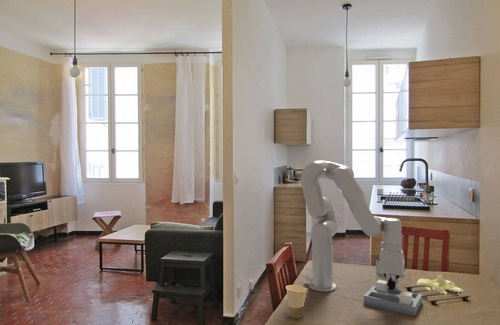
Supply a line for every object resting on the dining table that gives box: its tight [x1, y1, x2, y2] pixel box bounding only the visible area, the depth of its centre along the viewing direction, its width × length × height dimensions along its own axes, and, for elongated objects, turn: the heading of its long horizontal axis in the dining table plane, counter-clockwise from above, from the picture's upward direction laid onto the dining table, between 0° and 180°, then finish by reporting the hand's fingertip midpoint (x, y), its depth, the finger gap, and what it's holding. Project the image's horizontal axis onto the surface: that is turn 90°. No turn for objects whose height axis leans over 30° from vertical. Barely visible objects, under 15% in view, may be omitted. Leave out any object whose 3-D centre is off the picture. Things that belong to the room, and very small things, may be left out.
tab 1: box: [375, 280, 388, 293], centre depth 159 cm, size 4×4×5 cm
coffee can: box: [375, 254, 400, 290], centre depth 171 cm, size 10×10×14 cm
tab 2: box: [399, 290, 413, 306], centre depth 145 cm, size 4×4×5 cm
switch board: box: [363, 284, 423, 317], centre depth 152 cm, size 20×15×4 cm
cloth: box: [416, 274, 464, 295], centre depth 170 cm, size 22×19×6 cm
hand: (391, 288), depth 157 cm, fingers closed
